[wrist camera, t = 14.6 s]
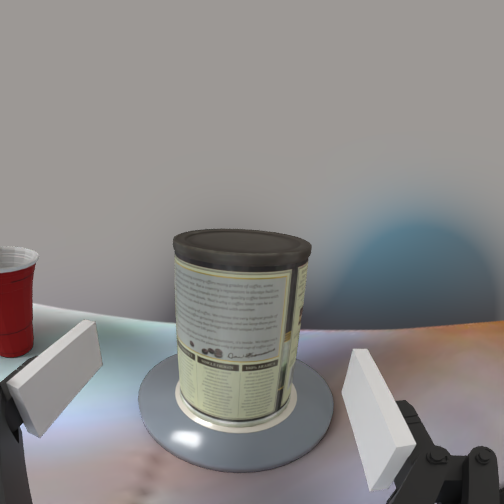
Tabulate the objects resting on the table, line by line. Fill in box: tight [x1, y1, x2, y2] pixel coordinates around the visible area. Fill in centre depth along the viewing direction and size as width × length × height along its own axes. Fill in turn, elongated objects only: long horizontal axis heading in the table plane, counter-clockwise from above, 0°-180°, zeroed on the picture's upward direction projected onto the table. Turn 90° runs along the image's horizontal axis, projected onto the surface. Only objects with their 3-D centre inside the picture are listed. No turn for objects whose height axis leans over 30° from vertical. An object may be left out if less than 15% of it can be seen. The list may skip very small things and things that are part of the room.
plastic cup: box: [0, 247, 39, 357], centre depth 26 cm, size 11×11×12 cm
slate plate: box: [138, 354, 334, 473], centre depth 26 cm, size 18×18×1 cm
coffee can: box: [173, 229, 311, 427], centre depth 24 cm, size 10×10×14 cm
